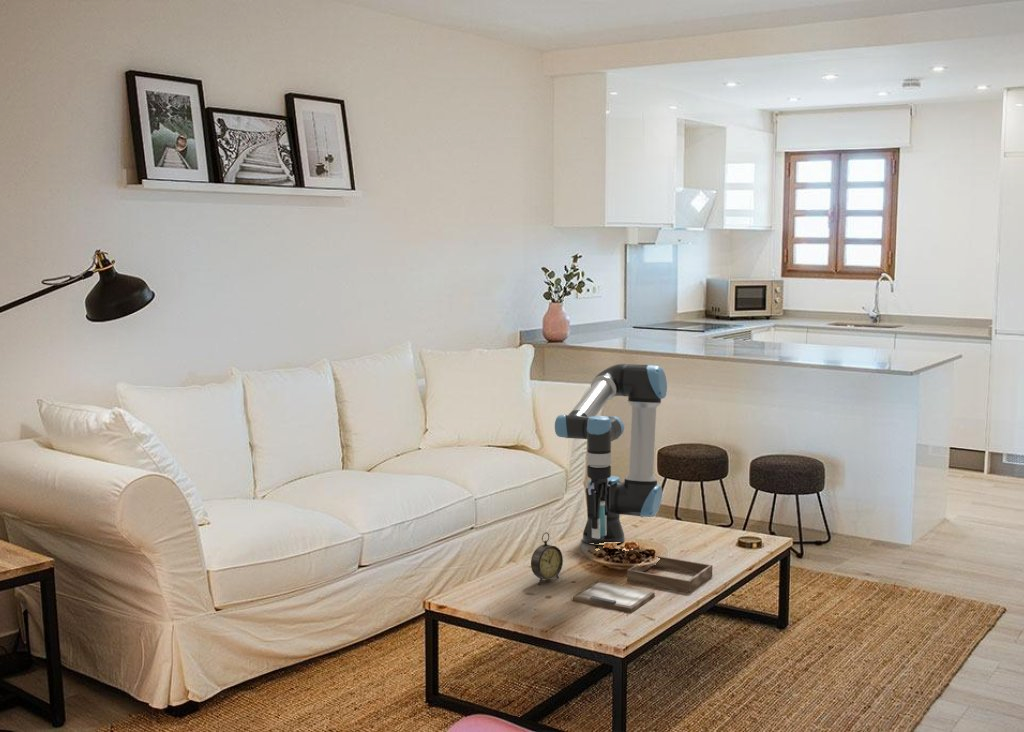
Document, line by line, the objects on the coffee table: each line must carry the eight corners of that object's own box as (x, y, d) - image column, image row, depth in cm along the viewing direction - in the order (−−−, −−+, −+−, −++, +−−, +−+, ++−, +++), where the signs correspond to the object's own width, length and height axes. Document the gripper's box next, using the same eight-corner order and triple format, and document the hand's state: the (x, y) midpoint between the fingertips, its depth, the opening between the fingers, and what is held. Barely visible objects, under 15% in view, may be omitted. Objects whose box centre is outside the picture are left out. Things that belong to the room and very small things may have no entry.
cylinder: (596, 537, 337) (596, 499, 335) (607, 538, 335) (607, 501, 333) (591, 540, 334) (591, 502, 332) (601, 541, 332) (601, 503, 330)
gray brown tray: (651, 564, 350) (651, 554, 350) (712, 575, 339) (712, 565, 338) (627, 580, 335) (627, 570, 335) (689, 592, 323) (689, 581, 323)
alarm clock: (539, 587, 330) (539, 537, 328) (528, 583, 334) (527, 534, 332) (564, 579, 337) (563, 530, 335) (552, 575, 341) (551, 527, 339)
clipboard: (597, 585, 331) (597, 579, 331) (654, 596, 320) (654, 590, 320) (572, 600, 318) (572, 594, 318) (631, 612, 307) (631, 606, 307)
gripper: (601, 458, 340) (601, 528, 343) (575, 468, 326) (576, 541, 329) (621, 461, 336) (621, 531, 339) (597, 471, 322) (597, 544, 325)
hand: (599, 536), depth 334 cm, fingers closed on cylinder, 3 cm apart
